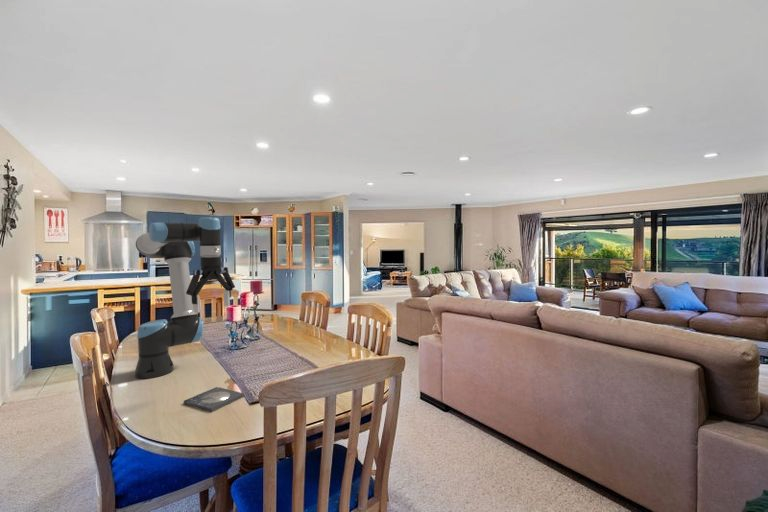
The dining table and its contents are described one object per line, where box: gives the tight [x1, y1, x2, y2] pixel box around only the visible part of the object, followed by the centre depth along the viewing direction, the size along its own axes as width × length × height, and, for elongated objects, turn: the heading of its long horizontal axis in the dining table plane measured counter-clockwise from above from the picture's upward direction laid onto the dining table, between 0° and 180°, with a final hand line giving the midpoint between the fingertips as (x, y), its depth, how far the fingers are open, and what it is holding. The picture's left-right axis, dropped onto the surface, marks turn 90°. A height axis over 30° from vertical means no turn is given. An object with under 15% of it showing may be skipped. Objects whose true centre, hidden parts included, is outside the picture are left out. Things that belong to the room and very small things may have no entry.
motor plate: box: [183, 386, 245, 413], centre depth 138 cm, size 16×14×1 cm
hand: (212, 309), depth 149 cm, fingers open, 13 cm apart
